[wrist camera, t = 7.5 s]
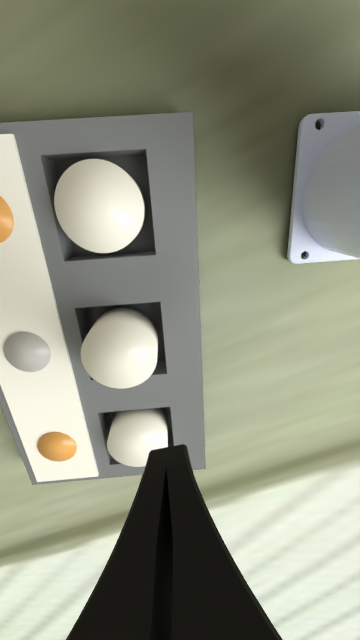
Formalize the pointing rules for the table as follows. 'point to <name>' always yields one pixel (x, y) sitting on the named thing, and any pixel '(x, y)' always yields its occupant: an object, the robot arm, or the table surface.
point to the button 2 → (120, 348)
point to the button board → (96, 292)
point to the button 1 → (99, 206)
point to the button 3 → (137, 435)
